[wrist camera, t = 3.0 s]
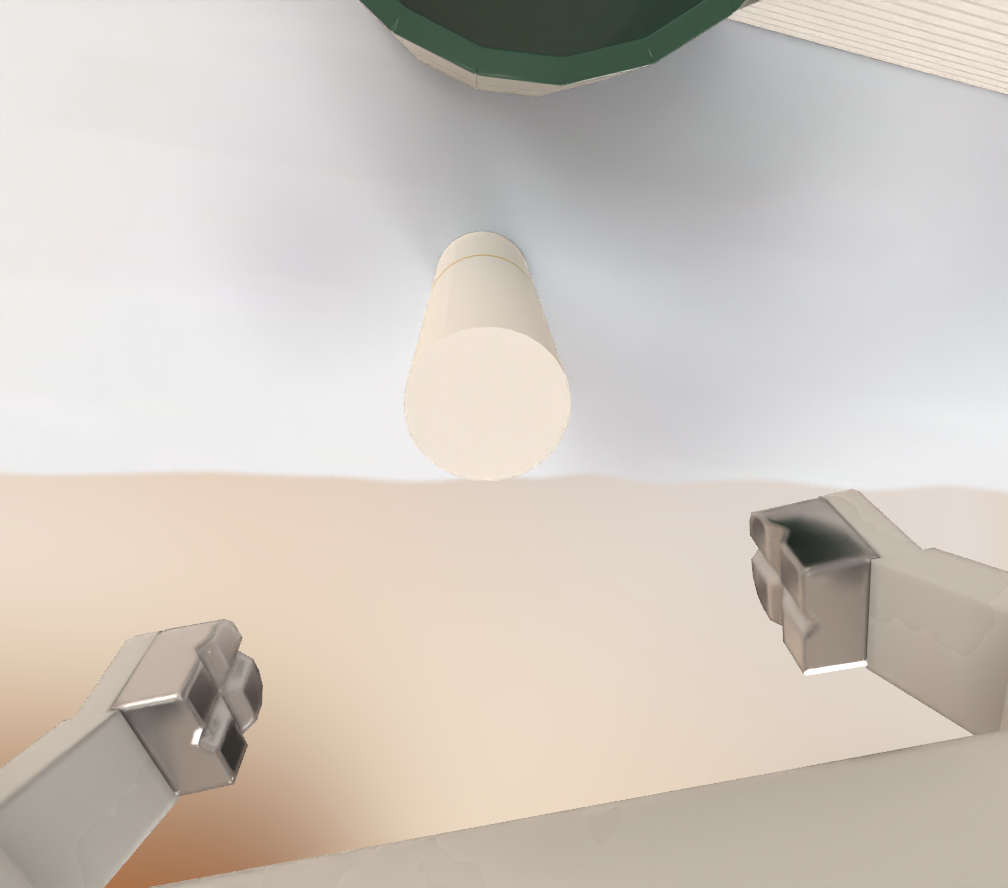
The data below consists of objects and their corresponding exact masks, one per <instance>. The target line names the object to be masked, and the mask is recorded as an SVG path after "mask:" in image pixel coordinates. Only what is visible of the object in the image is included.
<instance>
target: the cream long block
mask: <svg viewBox="0 0 1008 888" xmlns="http://www.w3.org/2000/svg"><path fill="white" fill-rule="evenodd" d="M728 19H732V20H735V21H739V22H743V23H746V24H750V25H754V26H757V27H761V28H765V29H768V30H772V31H776V32H779V33H783V34H787V35H790V36H794V37H798V38H801V39H805V40H809V41H812V42H816V43H820V44H823V45H827V46H831V47H834V48H838V49H842V50H845V51H849V52H853V53H856V54H860V55H864V56H867V57H871V58H875V59H878V60H882V61H886V62H889V63H893V64H897V65H900V66H904V67H908V68H911V69H915V70H919V71H922V72H926V73H930V74H933V75H937V76H941V77H944V78H948V79H952V80H956V81H959V82H963V83H967V84H970V85H974V86H978V87H981V88H985V89H989V90H992V91H996V92H1000V93H1003V94H1007V95H1008V0H746V1H745V2H744V3H743V4H742V6H741V7H740V8H739V9H738V10H737V11H736V12H734V13H733V14H732V15H731V16H729V17H728Z"/></svg>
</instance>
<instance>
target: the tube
mask: <svg viewBox="0 0 1008 888" xmlns="http://www.w3.org/2000/svg"><path fill="white" fill-rule="evenodd" d="M404 412H405V420H406V424H407V426H408V429H409V432H410V435H411V437H412V438H413V440H414V442H415V443H416V445H417V447H418V448H419V449H420V450H421V451H422V453H423V454H424V455H425V456H426V457H427V458H428V459H429V460H431V461H432V462H433V463H434V464H436V465H437V466H438V467H440V468H442V469H443V470H445V471H447V472H449V473H451V474H453V475H456V476H460V477H463V478H466V479H471V480H480V481H494V480H503V479H507V478H511V477H516V476H518V475H520V474H523V473H525V472H527V471H529V470H531V469H532V468H534V467H536V466H537V465H539V464H540V463H541V462H543V461H544V460H545V459H546V458H547V457H548V456H549V455H550V454H551V453H552V452H553V451H554V449H555V448H556V447H557V445H558V444H559V443H560V441H561V439H562V437H563V435H564V433H565V431H566V428H567V426H568V421H569V417H570V412H571V394H570V390H569V385H568V381H567V378H566V375H565V372H564V369H563V367H562V364H561V361H560V358H559V355H558V352H557V349H556V347H555V344H554V341H553V338H552V335H551V332H550V330H549V327H548V324H547V321H546V318H545V315H544V312H543V310H542V307H541V304H540V301H539V298H538V295H537V293H536V290H535V287H534V284H533V281H532V278H531V275H530V272H529V270H528V267H527V264H526V261H525V259H524V257H523V255H522V253H521V252H520V251H519V249H518V248H517V247H516V246H515V245H514V244H513V243H512V242H511V241H509V240H508V239H506V238H505V237H503V236H501V235H498V234H495V233H491V232H485V231H482V232H472V233H469V234H465V235H463V236H461V237H459V238H457V239H456V240H455V241H453V242H452V243H451V244H450V245H449V246H448V247H447V248H446V249H445V251H444V252H443V254H442V256H441V257H440V260H439V263H438V266H437V269H436V273H435V277H434V281H433V284H432V288H431V292H430V296H429V300H428V304H427V308H426V312H425V316H424V319H423V323H422V327H421V331H420V335H419V339H418V342H417V346H416V350H415V354H414V358H413V362H412V365H411V369H410V373H409V377H408V381H407V384H406V388H405V397H404Z"/></svg>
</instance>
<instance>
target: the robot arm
mask: <svg viewBox="0 0 1008 888" xmlns="http://www.w3.org/2000/svg"><path fill="white" fill-rule="evenodd" d="M750 536H751V537H752V539H753V540H754V542H755V543H756V545H757V546H758V548H759V549H758V551H757V552H756V553H755V555H754V556H753V558H752V571H753V579H754V582H755V587H756V591H757V595H758V597H759V599H760V602H761V604H762V606H763V608H764V610H765V612H766V614H767V615H768V617H769V618H770V620H771V621H774V622H776V623H777V624H779V625H782V626H783V642H784V643H785V645H786V647H787V648H788V650H789V651H790V653H791V655H792V656H793V658H794V660H795V661H796V663H797V664H798V666H799V668H800V669H801V671H802V673H803V674H804V675H810V674H816V673H822V672H829V671H835V670H841V669H847V668H853V667H859V666H865V665H866V666H867V667H866V668H867V669H869V670H870V671H872V672H873V673H875V674H876V675H878V676H880V677H882V678H883V679H885V680H886V681H888V682H889V683H891V684H893V685H894V686H896V687H898V688H899V689H901V690H902V691H904V692H906V693H907V694H909V695H910V696H912V697H914V698H915V699H917V700H919V701H920V702H922V703H924V704H925V705H927V706H928V707H930V708H932V709H933V710H935V711H936V712H938V713H940V714H941V715H943V716H944V717H946V718H948V719H949V720H951V721H952V722H954V723H956V724H957V725H959V726H961V727H962V728H964V729H966V730H967V731H969V732H970V733H972V734H973V735H974V736H969V737H963V738H958V739H952V740H947V741H942V742H936V743H931V744H926V745H920V746H914V747H909V748H904V749H898V750H893V751H887V752H882V753H877V754H872V755H866V756H861V757H855V758H850V759H845V760H840V761H834V762H828V763H823V764H818V765H812V766H807V767H802V768H797V769H791V770H785V771H780V772H775V773H769V774H764V775H759V776H753V777H748V778H742V779H736V780H731V781H725V782H720V783H715V784H709V785H703V786H698V787H692V788H687V789H681V790H676V791H670V792H665V793H659V794H654V795H648V796H643V797H638V798H632V799H626V800H621V801H615V802H610V803H605V804H600V805H594V806H588V807H583V808H577V809H572V810H567V811H561V812H555V813H550V814H545V815H540V816H534V817H528V818H523V819H518V820H512V821H507V822H501V823H496V824H490V825H485V826H480V827H474V828H469V829H463V830H458V831H452V832H447V833H442V834H436V835H431V836H425V837H420V838H415V839H409V840H404V841H399V842H393V843H387V844H383V845H377V846H371V847H366V848H360V849H355V850H350V851H344V852H339V853H333V854H328V855H322V856H317V857H312V858H306V859H301V860H296V861H290V862H285V863H279V864H274V865H268V866H263V867H257V868H253V869H246V870H241V871H236V872H231V873H225V874H219V875H214V876H209V877H203V878H198V879H192V880H187V881H181V882H176V883H170V884H165V885H160V886H154V887H149V888H1008V572H1007V571H1004V570H1001V569H998V568H995V567H991V566H989V565H985V564H982V563H979V562H976V561H973V560H970V559H967V558H963V557H961V556H958V555H954V554H951V553H948V552H945V551H942V550H939V549H936V548H929V549H924V550H922V549H921V548H920V547H919V546H918V545H917V544H916V543H915V542H913V541H912V540H911V539H910V538H909V537H908V536H907V535H906V534H905V533H904V532H903V531H901V530H900V529H899V528H898V527H897V526H896V525H895V524H894V523H893V522H892V521H891V520H890V519H889V518H887V517H886V516H885V515H884V514H883V513H882V512H881V511H880V510H879V509H878V508H876V507H875V506H874V505H873V504H872V503H871V502H870V501H869V500H868V499H867V498H866V497H865V496H864V495H863V494H861V493H860V492H859V491H856V490H853V489H850V490H846V491H842V492H837V493H833V494H829V495H825V496H820V497H818V498H816V499H811V500H807V501H802V502H797V503H793V504H788V505H783V506H779V507H774V508H769V509H764V510H760V511H755V512H752V513H751V517H750ZM241 641H242V636H241V635H240V633H239V631H238V629H237V628H236V626H235V624H234V623H233V622H232V621H229V620H226V619H222V620H217V621H211V622H205V623H200V624H195V625H189V626H183V627H178V628H172V629H167V630H164V631H157V632H152V633H147V634H142V635H137V636H134V637H132V638H130V639H128V640H127V641H125V643H124V644H123V646H122V647H121V649H120V650H119V652H118V653H117V655H116V656H115V658H114V659H113V661H112V662H111V664H110V665H109V667H108V668H107V670H106V671H105V673H104V674H103V676H102V677H101V679H100V680H99V682H98V683H97V685H96V686H95V687H94V689H93V690H92V692H91V693H90V695H89V697H88V698H87V700H86V701H85V702H84V704H83V706H82V707H81V709H80V710H79V711H78V713H77V714H76V716H75V717H74V718H73V719H68V720H64V721H62V722H61V723H60V724H58V725H57V726H56V727H54V728H53V729H52V730H50V731H49V732H48V733H46V734H45V735H44V736H42V737H41V738H40V739H38V740H37V741H36V742H34V743H33V744H32V745H30V746H29V747H28V748H26V750H24V751H22V752H21V753H20V754H19V755H17V756H16V757H15V758H13V759H12V760H11V761H9V762H8V763H7V764H5V765H4V766H3V767H1V768H0V888H104V887H105V886H106V884H107V883H108V882H109V881H110V880H111V879H112V877H113V876H114V875H115V874H116V873H117V871H118V870H119V869H120V868H121V867H122V865H123V864H124V863H125V862H126V861H127V860H128V858H129V857H130V856H131V855H132V854H133V852H134V851H135V850H136V849H137V848H138V847H139V845H140V844H141V843H142V842H143V841H144V840H145V838H146V837H147V836H148V835H149V834H150V832H151V831H152V830H153V829H154V828H155V826H156V825H157V824H158V823H159V822H160V821H161V820H162V818H163V817H164V816H165V815H166V814H167V812H168V811H169V810H170V809H171V808H172V807H173V805H174V804H175V803H176V802H177V801H178V798H177V797H179V796H183V795H188V794H192V793H196V792H201V791H205V790H210V789H215V788H219V787H224V786H228V785H233V784H234V782H235V779H236V776H237V774H238V771H239V768H240V765H241V763H242V760H243V757H244V754H245V752H246V749H247V746H248V745H247V743H246V741H245V739H244V737H243V734H244V733H245V732H246V731H247V730H248V729H249V728H250V727H251V726H252V724H253V723H254V722H255V721H256V720H257V718H258V715H259V711H260V708H261V706H262V688H263V685H262V681H261V677H260V673H259V670H258V668H257V666H256V664H255V662H254V660H253V659H252V658H250V657H249V656H247V655H245V654H244V653H242V652H240V651H239V647H240V644H241Z"/></svg>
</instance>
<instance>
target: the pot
mask: <svg viewBox="0 0 1008 888" xmlns="http://www.w3.org/2000/svg"><path fill="white" fill-rule="evenodd" d="M358 1H359V2H360V3H361V4H362V5H363V6H364V7H365V8H366V9H367V10H368V11H369V12H370V13H371V14H372V15H373V16H374V17H375V18H376V19H377V20H378V21H379V22H380V23H381V24H382V25H383V26H384V27H385V28H386V29H387V30H388V31H389V32H390V33H391V34H392V35H393V36H394V37H395V38H397V39H398V40H399V41H400V42H401V43H402V44H403V45H404V46H405V47H406V48H407V49H408V50H409V51H410V52H411V53H412V54H413V55H414V56H415V57H416V58H417V59H418V60H420V61H421V62H423V63H425V64H427V65H429V66H431V67H433V68H435V69H437V70H439V71H440V72H442V73H444V74H446V75H448V76H450V77H452V78H454V79H456V80H458V81H460V82H462V83H464V84H466V85H468V86H470V87H472V88H477V90H485V91H493V92H501V93H508V94H515V95H526V96H534V97H536V96H542V95H546V94H550V93H555V92H559V91H563V90H567V89H571V88H576V87H580V86H584V85H588V84H592V83H596V82H599V81H602V80H606V79H609V78H612V77H615V76H619V75H622V74H625V73H629V72H632V71H635V70H638V69H642V68H645V67H648V66H650V65H652V64H655V63H656V62H658V61H660V60H661V59H663V58H664V57H666V56H668V55H669V54H671V53H672V52H674V51H675V50H677V49H679V48H680V47H682V46H683V45H685V44H687V43H688V42H690V41H691V40H693V39H694V38H696V37H698V36H699V35H701V34H702V33H704V32H706V31H707V30H709V29H710V28H712V27H713V26H715V25H717V24H718V23H720V22H721V21H723V20H725V19H726V18H728V17H729V16H731V15H732V14H733V13H734V12H736V11H737V10H738V9H739V8H740V7H741V6H742V4H743V3H744V2H745V1H746V0H358Z"/></svg>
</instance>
